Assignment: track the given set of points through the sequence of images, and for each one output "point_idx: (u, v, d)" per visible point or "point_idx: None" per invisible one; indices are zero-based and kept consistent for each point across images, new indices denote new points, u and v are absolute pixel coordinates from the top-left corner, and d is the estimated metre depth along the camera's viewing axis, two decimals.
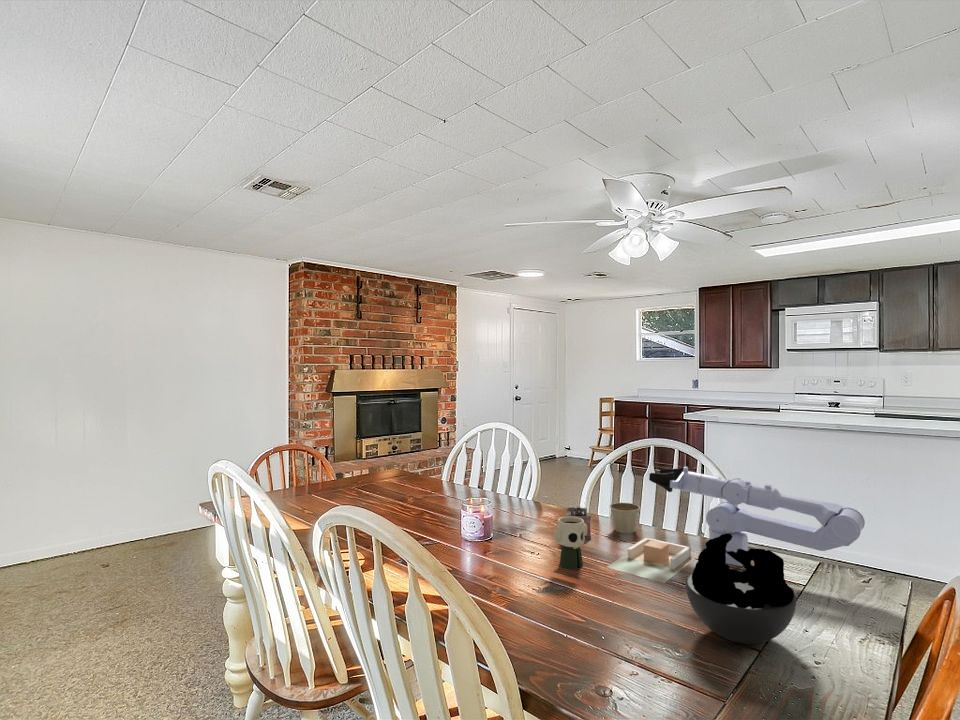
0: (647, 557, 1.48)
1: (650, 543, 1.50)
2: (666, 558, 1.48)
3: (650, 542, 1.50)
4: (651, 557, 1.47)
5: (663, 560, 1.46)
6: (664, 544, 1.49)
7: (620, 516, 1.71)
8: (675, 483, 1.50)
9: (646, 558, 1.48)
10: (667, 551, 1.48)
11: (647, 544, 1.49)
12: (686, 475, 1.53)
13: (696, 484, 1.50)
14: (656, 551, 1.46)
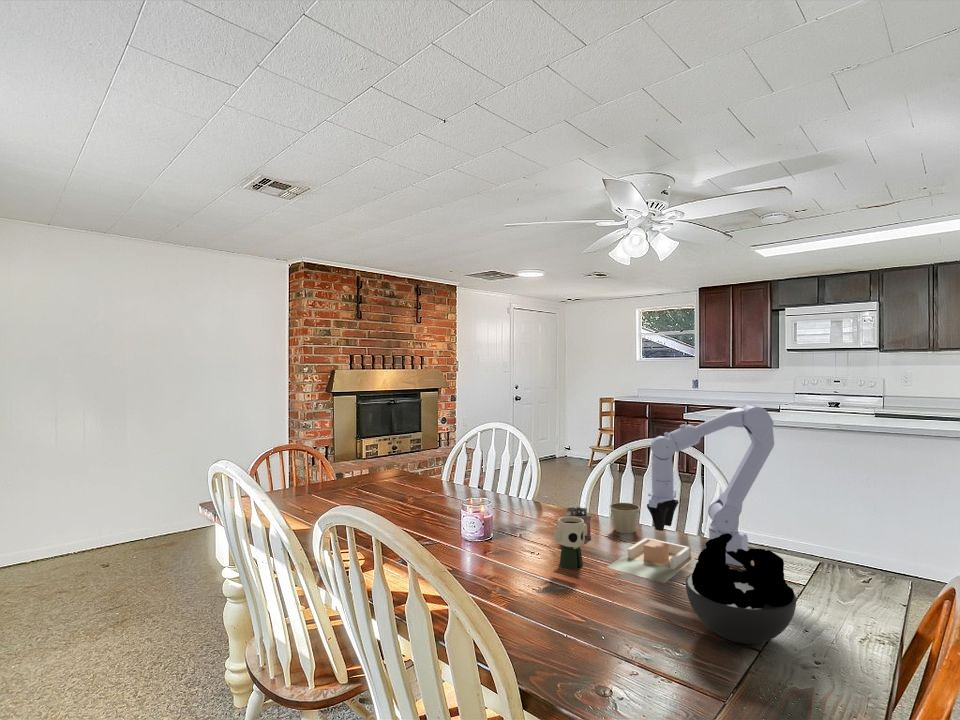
0: (647, 557, 1.48)
1: (650, 543, 1.50)
2: (666, 558, 1.48)
3: (650, 542, 1.50)
4: (651, 557, 1.47)
5: (663, 560, 1.46)
6: (664, 544, 1.49)
7: (620, 516, 1.71)
8: (650, 501, 1.47)
9: (646, 558, 1.48)
10: (667, 551, 1.48)
11: (647, 544, 1.49)
12: (652, 493, 1.52)
13: (657, 483, 1.50)
14: (656, 551, 1.46)
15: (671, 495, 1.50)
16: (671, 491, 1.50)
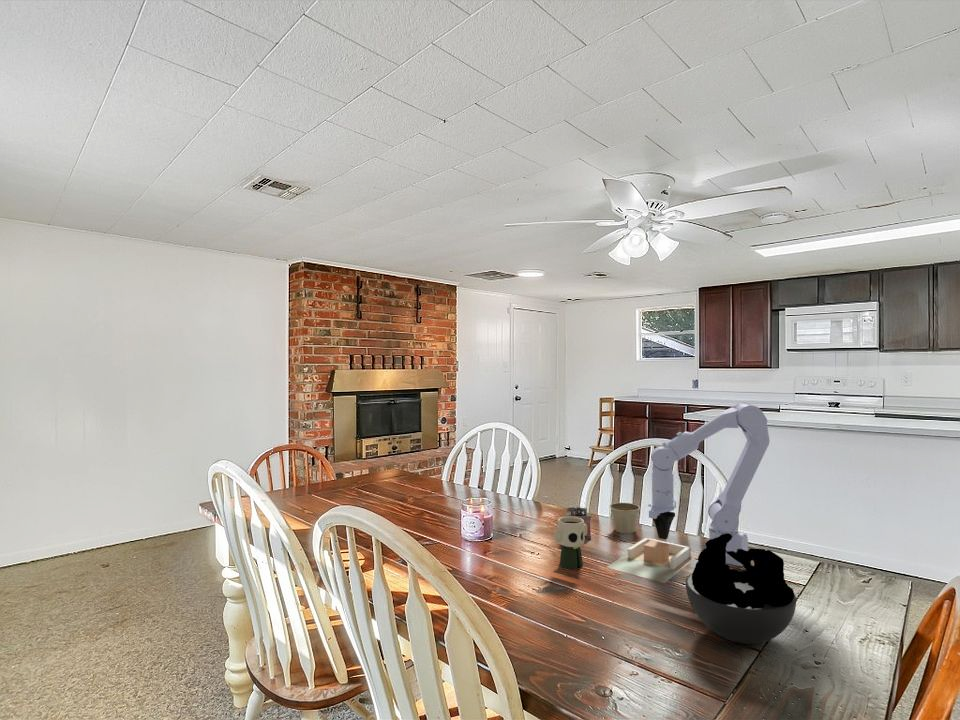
0: (647, 557, 1.48)
1: (650, 543, 1.50)
2: (666, 558, 1.48)
3: (650, 542, 1.50)
4: (651, 557, 1.47)
5: (663, 560, 1.46)
6: (664, 544, 1.49)
7: (620, 516, 1.71)
8: (650, 512, 1.47)
9: (646, 558, 1.48)
10: (667, 551, 1.48)
11: (647, 544, 1.49)
12: (652, 503, 1.52)
13: (657, 493, 1.50)
14: (656, 551, 1.46)
15: (671, 506, 1.50)
16: (671, 502, 1.50)
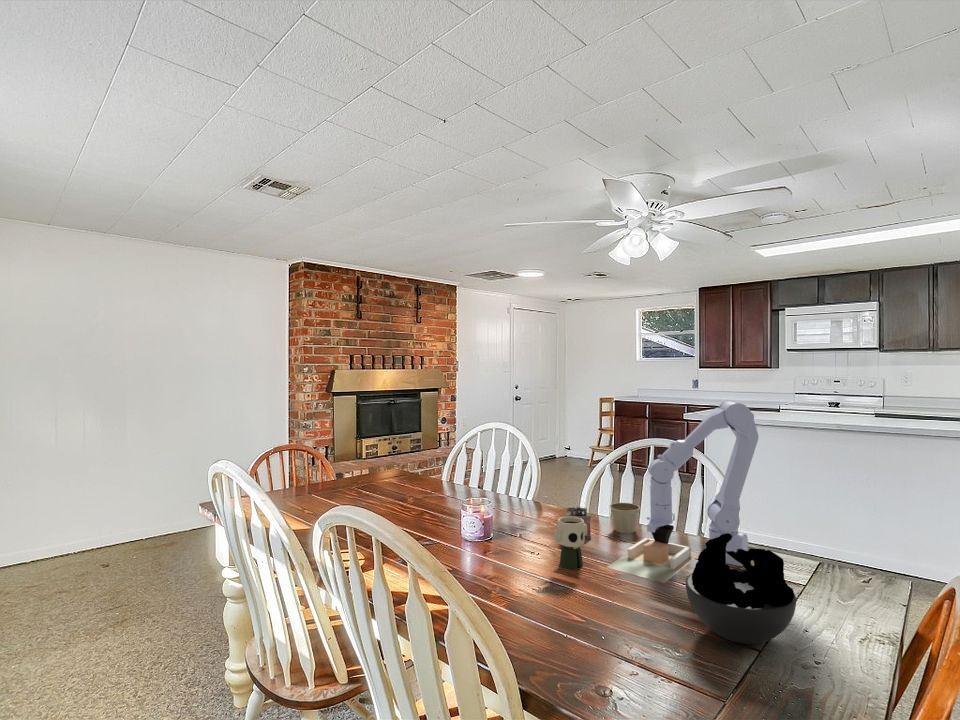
0: (647, 557, 1.48)
1: (650, 543, 1.49)
2: (666, 558, 1.48)
3: (650, 542, 1.50)
4: (651, 557, 1.47)
5: (663, 560, 1.46)
6: (664, 544, 1.48)
7: (620, 516, 1.71)
8: (648, 525, 1.46)
9: (646, 558, 1.48)
10: (667, 551, 1.48)
11: (647, 544, 1.49)
12: (651, 517, 1.51)
13: (655, 507, 1.50)
14: (655, 551, 1.46)
15: (669, 519, 1.49)
16: (669, 515, 1.49)
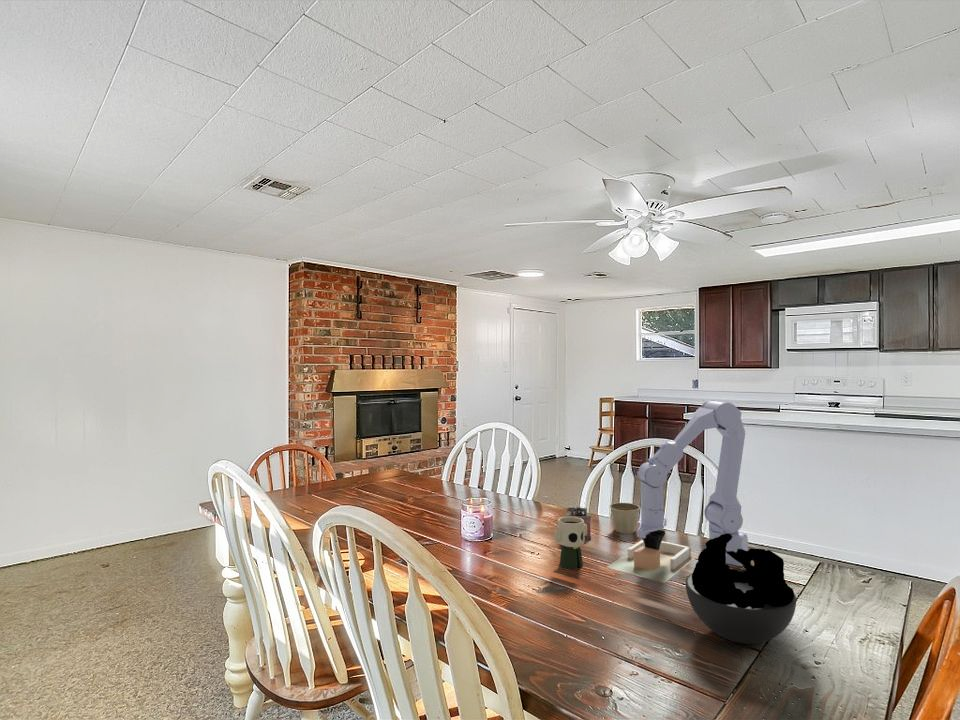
0: (637, 564, 1.43)
1: (641, 549, 1.45)
2: (657, 565, 1.43)
3: (641, 548, 1.45)
4: (642, 564, 1.42)
5: (654, 567, 1.41)
6: (655, 550, 1.44)
7: (620, 516, 1.71)
8: (638, 531, 1.42)
9: (636, 565, 1.43)
10: (658, 557, 1.43)
11: (637, 550, 1.44)
12: (641, 522, 1.47)
13: (646, 511, 1.45)
14: (646, 558, 1.41)
15: (661, 524, 1.45)
16: (661, 520, 1.45)
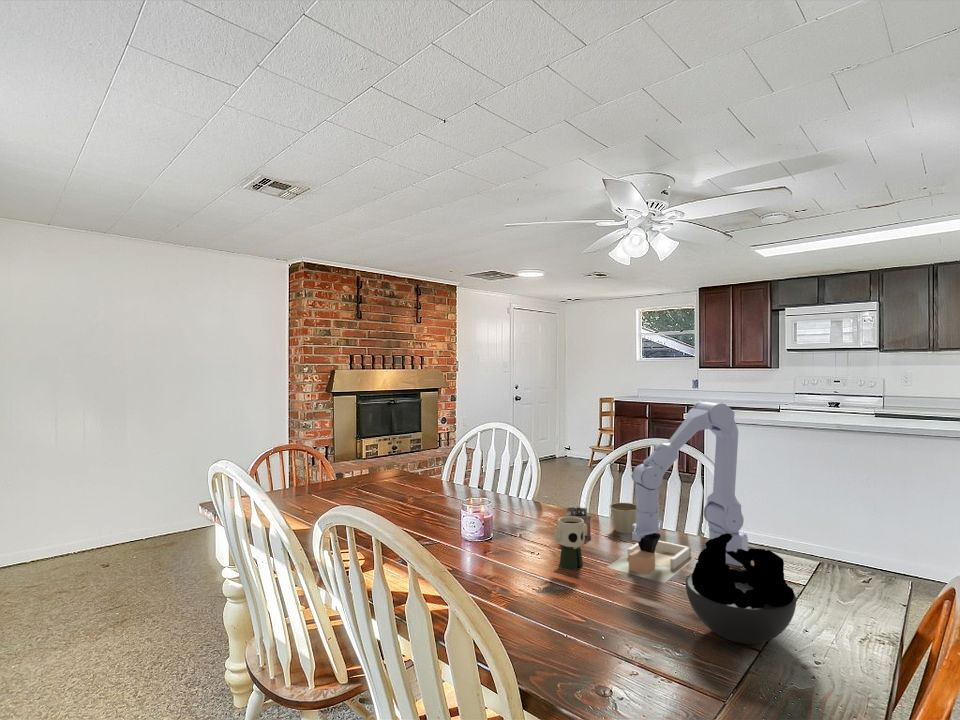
0: (632, 567, 1.41)
1: (635, 553, 1.42)
2: (652, 569, 1.41)
3: (636, 551, 1.43)
4: (636, 567, 1.40)
5: (649, 571, 1.39)
6: (650, 554, 1.41)
7: (620, 516, 1.71)
8: (633, 534, 1.39)
9: (631, 568, 1.41)
10: (653, 561, 1.41)
11: (632, 554, 1.42)
12: (636, 524, 1.44)
13: (641, 514, 1.43)
14: (641, 561, 1.39)
15: (656, 527, 1.42)
16: (656, 523, 1.42)
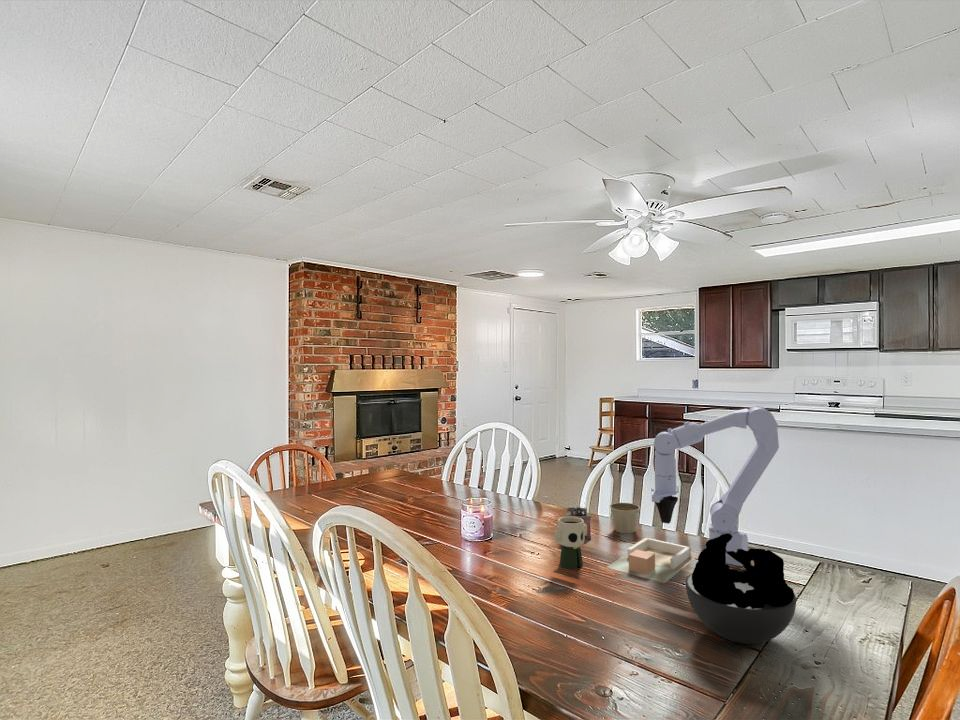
0: (632, 567, 1.41)
1: (635, 553, 1.42)
2: (652, 569, 1.41)
3: (636, 551, 1.43)
4: (636, 567, 1.40)
5: (649, 571, 1.39)
6: (650, 554, 1.41)
7: (620, 516, 1.71)
8: (653, 496, 1.49)
9: (631, 568, 1.41)
10: (653, 561, 1.41)
11: (632, 554, 1.42)
12: (655, 488, 1.54)
13: (660, 478, 1.52)
14: (641, 561, 1.39)
15: (674, 490, 1.52)
16: (674, 486, 1.52)
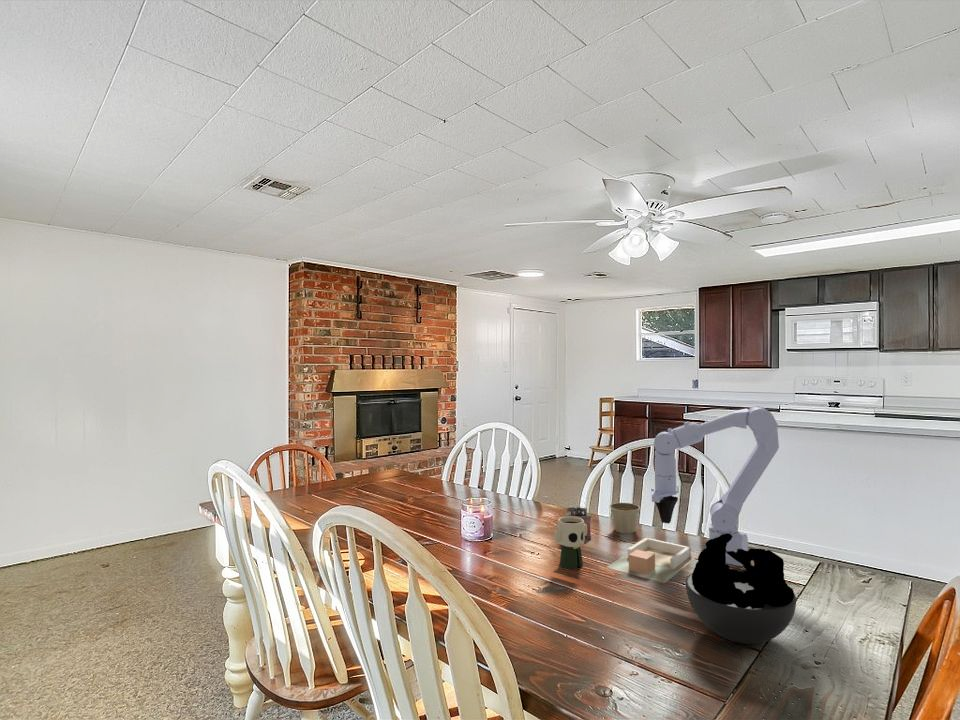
0: (632, 567, 1.41)
1: (635, 553, 1.42)
2: (652, 569, 1.41)
3: (636, 551, 1.43)
4: (636, 567, 1.40)
5: (649, 571, 1.39)
6: (650, 554, 1.41)
7: (620, 516, 1.71)
8: (653, 496, 1.49)
9: (631, 568, 1.41)
10: (653, 561, 1.41)
11: (632, 554, 1.42)
12: (655, 488, 1.54)
13: (660, 478, 1.52)
14: (641, 561, 1.39)
15: (674, 490, 1.52)
16: (674, 486, 1.52)
